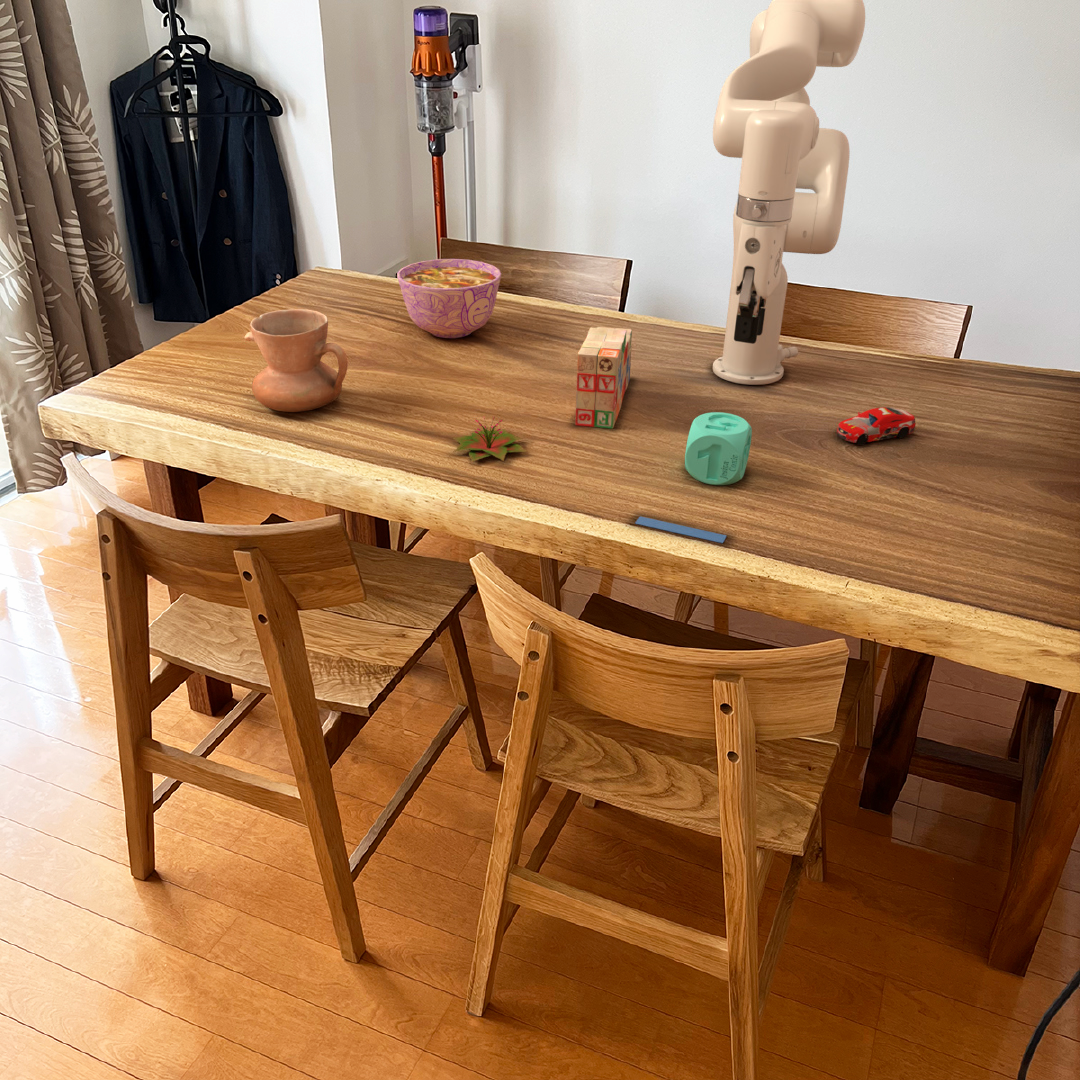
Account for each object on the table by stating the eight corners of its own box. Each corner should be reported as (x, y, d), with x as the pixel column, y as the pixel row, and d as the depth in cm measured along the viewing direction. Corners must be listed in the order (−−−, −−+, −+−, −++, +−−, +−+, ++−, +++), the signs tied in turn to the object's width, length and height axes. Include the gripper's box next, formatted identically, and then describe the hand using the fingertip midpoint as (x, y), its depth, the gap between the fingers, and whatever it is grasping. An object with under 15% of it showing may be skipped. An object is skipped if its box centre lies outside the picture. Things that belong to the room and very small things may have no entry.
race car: (848, 448, 151) (852, 425, 149) (828, 434, 156) (832, 411, 154) (919, 436, 155) (924, 413, 153) (898, 422, 159) (902, 400, 157)
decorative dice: (682, 480, 142) (687, 429, 138) (695, 456, 148) (700, 408, 144) (737, 490, 139) (744, 439, 135) (747, 466, 146) (754, 416, 142)
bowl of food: (499, 350, 186) (498, 289, 180) (393, 348, 186) (389, 288, 180) (504, 315, 203) (503, 259, 197) (407, 313, 203) (404, 257, 197)
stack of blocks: (595, 376, 175) (598, 309, 169) (630, 379, 174) (634, 311, 168) (574, 425, 157) (577, 352, 151) (613, 429, 156) (617, 356, 150)
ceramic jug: (230, 411, 160) (216, 327, 153) (280, 380, 172) (269, 300, 164) (327, 429, 155) (317, 343, 148) (371, 395, 167) (364, 314, 159)
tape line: (635, 523, 131) (635, 523, 131) (639, 516, 133) (639, 516, 133) (722, 543, 127) (722, 542, 127) (726, 536, 129) (726, 535, 128)
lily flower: (465, 472, 143) (464, 444, 141) (439, 439, 152) (437, 412, 150) (540, 458, 147) (541, 430, 145) (510, 427, 156) (510, 400, 154)
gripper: (779, 225, 126) (760, 360, 136) (803, 199, 139) (784, 324, 149) (722, 218, 129) (708, 352, 138) (751, 194, 142) (736, 317, 151)
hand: (748, 336), depth 144 cm, fingers open, 3 cm apart
